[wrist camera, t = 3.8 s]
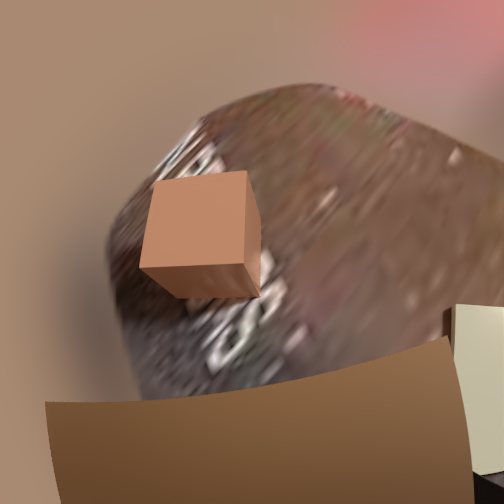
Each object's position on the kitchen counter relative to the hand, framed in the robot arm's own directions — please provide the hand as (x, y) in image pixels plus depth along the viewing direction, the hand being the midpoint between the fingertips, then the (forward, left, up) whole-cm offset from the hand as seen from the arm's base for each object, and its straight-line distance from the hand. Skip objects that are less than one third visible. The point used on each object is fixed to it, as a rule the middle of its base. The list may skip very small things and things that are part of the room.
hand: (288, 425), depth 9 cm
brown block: (-1, -1, -7) cm, 7 cm away
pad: (+4, -13, -7) cm, 15 cm away
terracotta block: (+7, +7, -7) cm, 12 cm away
